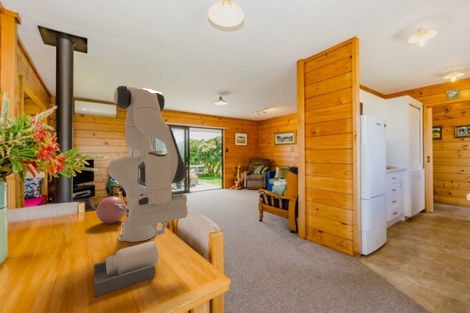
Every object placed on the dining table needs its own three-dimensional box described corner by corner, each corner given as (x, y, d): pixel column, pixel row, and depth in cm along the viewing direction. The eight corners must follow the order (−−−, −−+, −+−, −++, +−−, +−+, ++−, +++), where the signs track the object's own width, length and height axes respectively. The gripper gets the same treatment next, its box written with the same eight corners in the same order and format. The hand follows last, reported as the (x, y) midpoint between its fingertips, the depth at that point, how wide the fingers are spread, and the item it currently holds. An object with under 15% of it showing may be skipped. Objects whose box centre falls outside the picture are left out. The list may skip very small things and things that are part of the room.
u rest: (94, 275, 69) (94, 264, 69) (145, 260, 78) (145, 251, 78) (94, 296, 59) (94, 284, 59) (153, 277, 68) (153, 266, 68)
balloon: (108, 230, 109) (107, 201, 109) (91, 224, 121) (91, 197, 121) (136, 222, 122) (135, 196, 122) (118, 217, 133) (118, 193, 133)
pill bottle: (150, 242, 80) (104, 254, 70) (156, 239, 74) (108, 251, 64) (153, 264, 77) (105, 280, 67) (160, 262, 71) (110, 279, 62)
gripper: (183, 191, 83) (184, 225, 84) (126, 198, 72) (127, 238, 72) (189, 193, 78) (190, 230, 78) (129, 201, 66) (130, 244, 67)
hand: (159, 234), depth 75 cm, fingers closed
